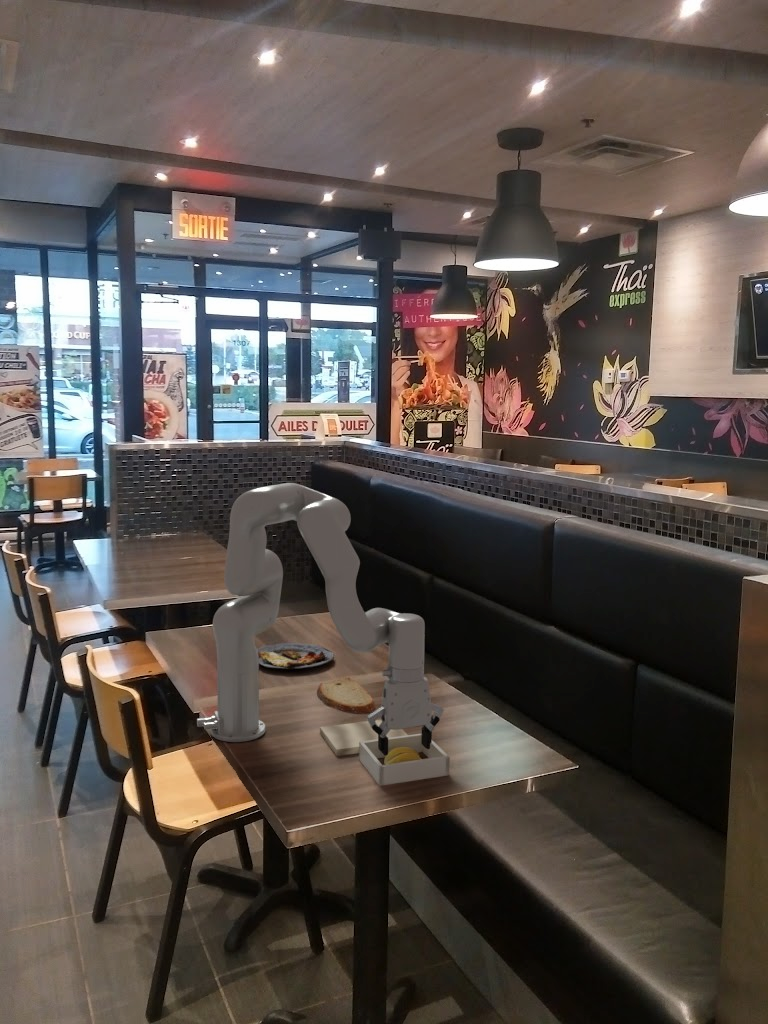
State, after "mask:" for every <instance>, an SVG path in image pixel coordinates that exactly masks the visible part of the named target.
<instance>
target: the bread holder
mask: <svg viewBox="0 0 768 1024" xmlns="http://www.w3.org/2000/svg"><path fill="white" fill-rule="evenodd" d="M421 737H422V732H421V733H415V734H407V735H406V736H399V737H391V738H388V753H389V752H390V751H391V750H393V749H395V748H398V747H408V748H412V749H413V750H415V751H416V752H417V753H418V754H419V753H423V754H424V755H425V756H426V757H427V758H423V759H422V758H421V760H414V761H408V762H401V763H394V764H387V765H384V764H382V763H381V761H380V760H378V759H380V758H385V757H386V756H387V755H386V756H384V754H383V753H382V752H381V751H380V750H379V749H378V739H376V740H369V741H361V742H359V753H358V761H360V763H362V765H363V767H365V769H366V770H367V771H368V773H369V774H370V775H371V777H372V778H373V779H374V781H375V782H376V783H377V784H378V786H379V787H380V786H381V787H382V786H388V785H393V784H394V785H395V784H402V783H407V782H413V781H420V780H425V779H432V778H433V779H435V778H440V777H446V776H450V761H451V760H450V759H451V757H450V755H448V754H447V753H446V752H445V750H443V749H442V748H441V747H440V746H439V745H438V744H437V743H436V742H435V741H433V739H432V742H431V743H430V749H426V748H425V747H424V746H423V745H422V743H421Z"/></svg>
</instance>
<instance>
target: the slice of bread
mask: <svg viewBox="0 0 768 1024" xmlns="http://www.w3.org/2000/svg"><path fill="white" fill-rule="evenodd" d="M316 694H317V697H318V698H319V700H320V701H322V703H323V704H325V705H329V706H330V707H331V708H334V709H336V710H340V711H343V712H348V713H354V714H366V713H367V714H368V713H369V714H371V713H373V712H374V711H376V710H377V708H376V706H375V703H374V699H373V697H372V696H371V694H370V693H369V692H368V690H366V689H365V688H364V687H363V686H362V685H360V684H359V683H358V682H357V681H355V680H354V679H351V677H343V678H340V679H336V680H333V681H331V682H329V683H324V682H321V683H320V684H319V685H318V688H317V690H316Z"/></svg>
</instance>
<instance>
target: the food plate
mask: <svg viewBox="0 0 768 1024" xmlns="http://www.w3.org/2000/svg"><path fill="white" fill-rule="evenodd" d="M257 651H258V657H259V665H261V666H262V667H263V666H264V667H265V668H269V669H276V670H299V669H307V668H313V667H320V666H322V665H325V664H327V663H330V662H332V661H334V659H335V654H334V652H333V651H330V650H329V649H327V648H325V647H323V646H321V645H319V644H314V643H313V644H312V643H299V642H281V643H274V644H269V645H263V646H261V647H259V648H258V647H257ZM301 653H302V654H301ZM280 654H282V655H280Z"/></svg>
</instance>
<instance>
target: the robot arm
mask: <svg viewBox="0 0 768 1024" xmlns="http://www.w3.org/2000/svg"><path fill="white" fill-rule="evenodd" d="M351 518H352V517H351V513H350V510H349V508H348V507H347V505H346V504H345V503H344V502H343V501H341V500H340V499H338V498H336V497H333V496H331V495H328V494H325V493H323V492H320V491H318V490H316V489H315V490H314V489H312V488H310V487H307V486H305V485H302V484H299V483H294V482H287V483H280V484H273V485H267V486H261V487H257V488H253V489H250V490H248V491H245V492H244V493H242V494H240V495H239V496H238V497H237V498H236V500H235V501H234V503H233V504H232V506H231V509H230V517H229V533H228V534H229V536H228V541H227V543H228V544H227V549H226V557H225V558H226V559H225V566H224V572H223V573H224V575H223V579H224V580H223V581H224V582H223V583H224V587H225V589H226V591H227V592H228V593H230V594H231V595H233V596H235V597H238V598H235V599H232V600H230V601H228V602H225V603H224V604H223V605H221V606H220V607H218V609H217V610H216V612H215V613H214V615H213V619H212V630H213V631H212V632H213V635H214V640H215V646H216V666H217V667H216V669H217V672H216V673H217V675H216V677H217V678H216V679H217V681H216V682H217V684H216V685H217V689H216V690H217V710H215V711H214V715H210V717H199V718H196V726H197V727H199V728H200V727H203V729H204V730H210V735H211V736H212V737H214V739H217V740H219V741H223V742H227V743H242V742H243V743H245V742H248V741H254V740H256V739H258V738H260V737H262V736H263V735H264V734H265V733H266V724H265V722H264V721H262V720H260V664H259V657H258V651H257V649H258V647H257V646H256V643H255V639H254V637H255V636H257V635H259V634H261V633H263V632H266V631H267V630H269V629H271V627H272V626H274V624H275V623H276V620H277V618H278V615H279V609H280V601H281V595H282V594H281V593H282V585H283V577H284V570H283V569H284V568H283V565H282V561H281V560H280V557H279V556H278V555H277V554H276V552H274V551H272V550H270V549H268V548H267V544H268V543H267V542H268V541H267V540H268V538H267V536H268V535H267V532H266V528H265V527H266V526H268V525H275V524H279V523H285V522H288V521H295V522H296V523H297V528H298V531H299V532H300V535H301V536H302V538H303V540H304V542H305V544H306V546H307V547H308V550H309V551H310V553H311V556H312V557H313V558H314V560H315V562H316V564H317V566H318V568H319V570H320V572H321V574H322V576H323V578H324V581H325V594H326V595H325V596H326V601H327V607H328V611H329V614H330V618H331V620H332V623H333V624H334V625H335V627H336V630H337V631H338V633H339V635H340V637H341V638H342V641H343V642H344V643H345V644H346V645H347V647H349V648H350V649H351V650H352V651H353V652H356V653H360V654H363V653H364V654H366V653H369V652H371V651H373V650H375V649H376V648H377V647H379V646H381V645H383V644H386V643H388V664H387V667H386V668H385V669H382V671H381V673H382V676H383V677H386V678H385V681H384V685H383V689H382V696H381V705H380V707H379V708H378V709H377V708H376V710H375V711H373V712H371V713H369V714H368V715H367V716H366V718H365V719H366V721H368V723H369V725H370V727H371V728H372V729H373V730H374V731H375V732H376V733H377V734H378V749H379V750H380V751H381V752H382V753H383V754H384V756H386V755H388V737H387V736H386V735H387V734H388V732H389V731H390V730H391V729H392V730H397V729H403V730H405V729H411V728H418V727H421V733H422V737H421V743H422V745H423V746H424V747H425V748H426V749H430V743H431V742H432V740H433V738H432V737H433V735H432V734H433V731H434V730H435V727H436V725H437V724H439V722H440V718H441V717H442V716H443V713H444V710H445V709H444V708H443V707H442V706H440V705H438V704H435V703H433V702H432V700H431V699H432V698H431V692H430V690H431V689H430V685H429V680H428V678H427V677H426V676H425V636H426V635H425V633H426V632H425V631H426V630H425V629H426V627H425V626H426V625H425V620H424V618H423V617H421V616H420V615H418V614H415V613H405V612H403V613H401V612H396V611H394V610H391V609H388V608H384V607H383V608H382V607H375V608H371V609H369V610H367V611H364V608H363V607H362V605H361V603H360V601H359V598H358V594H357V587H356V585H357V584H356V582H357V578H358V577H357V576H358V572H359V569H360V565H361V561H360V558H359V556H358V554H357V552H356V550H355V549H354V547H353V545H352V543H351V541H350V539H349V538H348V537H349V536H347V534H346V531H348V529H349V527H350V526H351V520H352V519H351ZM432 711H434V713H433V714H432ZM379 718H380V720H382V723H381V724H380V725H379V727H378V726H377V724H376V722H375V721H376V720H379Z"/></svg>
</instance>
